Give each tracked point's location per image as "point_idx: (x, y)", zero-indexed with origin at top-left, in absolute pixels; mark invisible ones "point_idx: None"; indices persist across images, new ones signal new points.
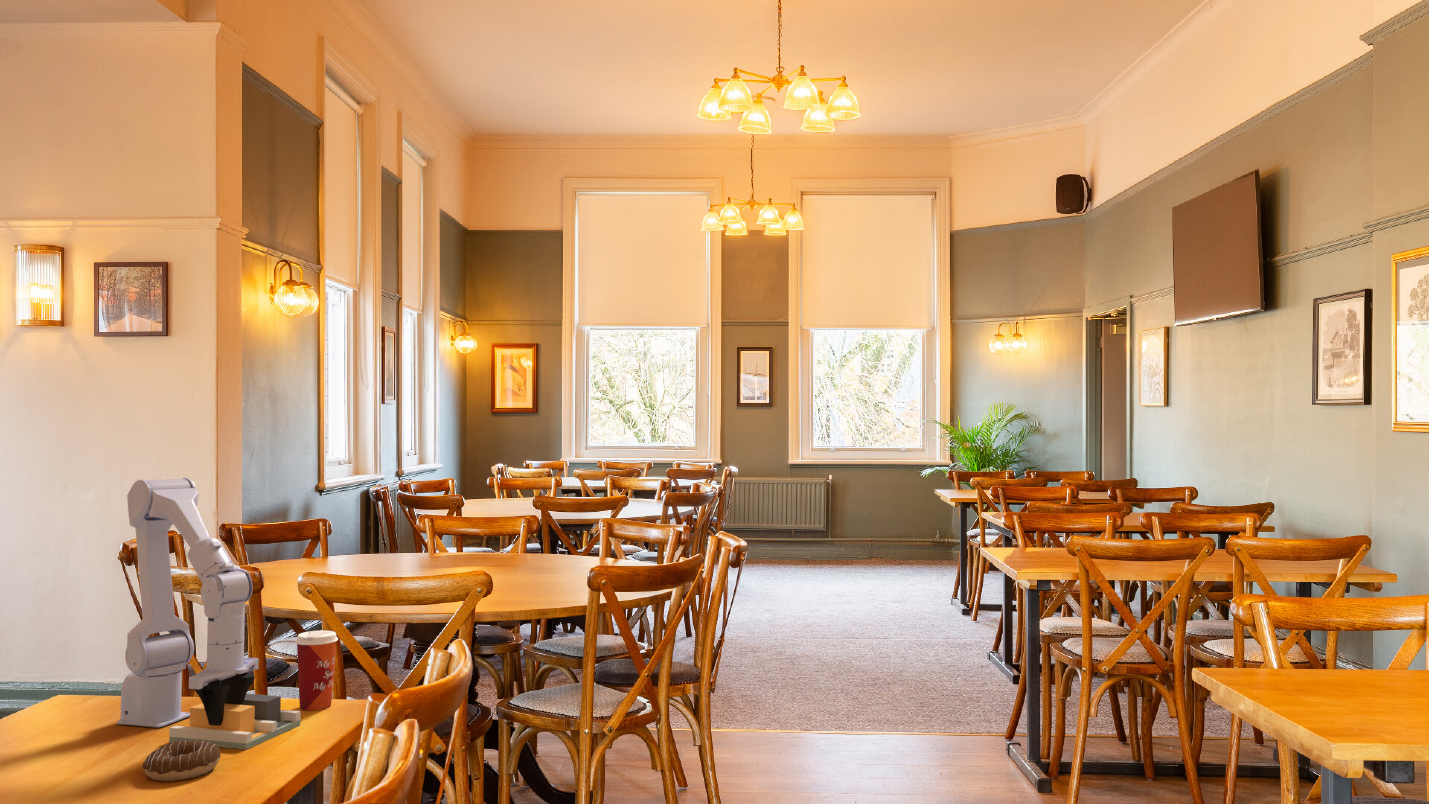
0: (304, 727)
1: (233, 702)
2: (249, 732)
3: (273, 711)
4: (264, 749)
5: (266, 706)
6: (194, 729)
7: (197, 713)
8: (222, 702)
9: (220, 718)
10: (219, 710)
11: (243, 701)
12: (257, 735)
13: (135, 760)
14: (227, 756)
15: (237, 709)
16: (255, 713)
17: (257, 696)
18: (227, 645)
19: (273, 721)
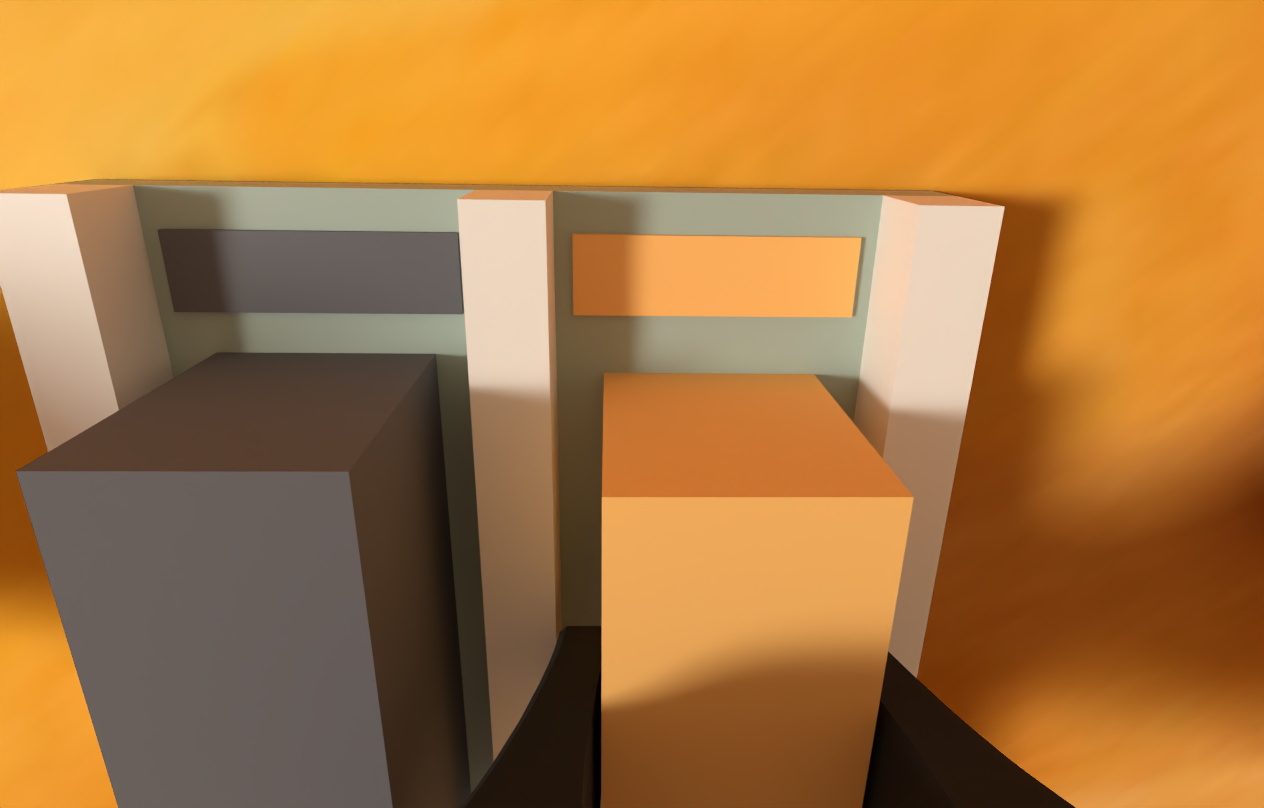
0: (129, 80)
1: (591, 804)
2: (931, 226)
3: (275, 400)
4: (899, 12)
5: (374, 449)
6: None
7: None
8: (1000, 797)
9: (896, 659)
10: (972, 729)
11: (517, 729)
12: (712, 255)
13: (1202, 783)
14: (1122, 237)
15: (812, 598)
16: (414, 547)
17: (186, 749)
18: None
19: (473, 241)
